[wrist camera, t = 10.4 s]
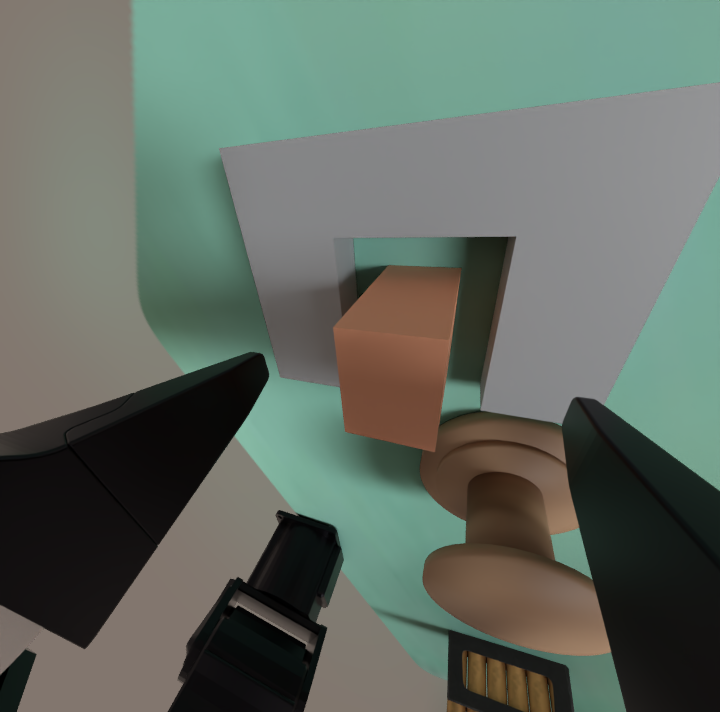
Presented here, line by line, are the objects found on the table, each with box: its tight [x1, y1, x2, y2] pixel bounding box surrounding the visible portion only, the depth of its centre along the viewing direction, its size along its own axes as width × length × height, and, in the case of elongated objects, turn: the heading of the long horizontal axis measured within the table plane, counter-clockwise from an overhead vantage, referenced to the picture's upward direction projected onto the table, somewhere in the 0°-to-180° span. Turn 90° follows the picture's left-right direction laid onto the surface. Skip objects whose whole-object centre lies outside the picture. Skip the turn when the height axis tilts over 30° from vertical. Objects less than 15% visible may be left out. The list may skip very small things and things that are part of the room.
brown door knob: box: [420, 411, 611, 656], centre depth 14 cm, size 9×9×6 cm
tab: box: [333, 265, 461, 452], centre depth 11 cm, size 3×4×6 cm
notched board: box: [219, 82, 720, 424], centre depth 11 cm, size 14×10×2 cm
